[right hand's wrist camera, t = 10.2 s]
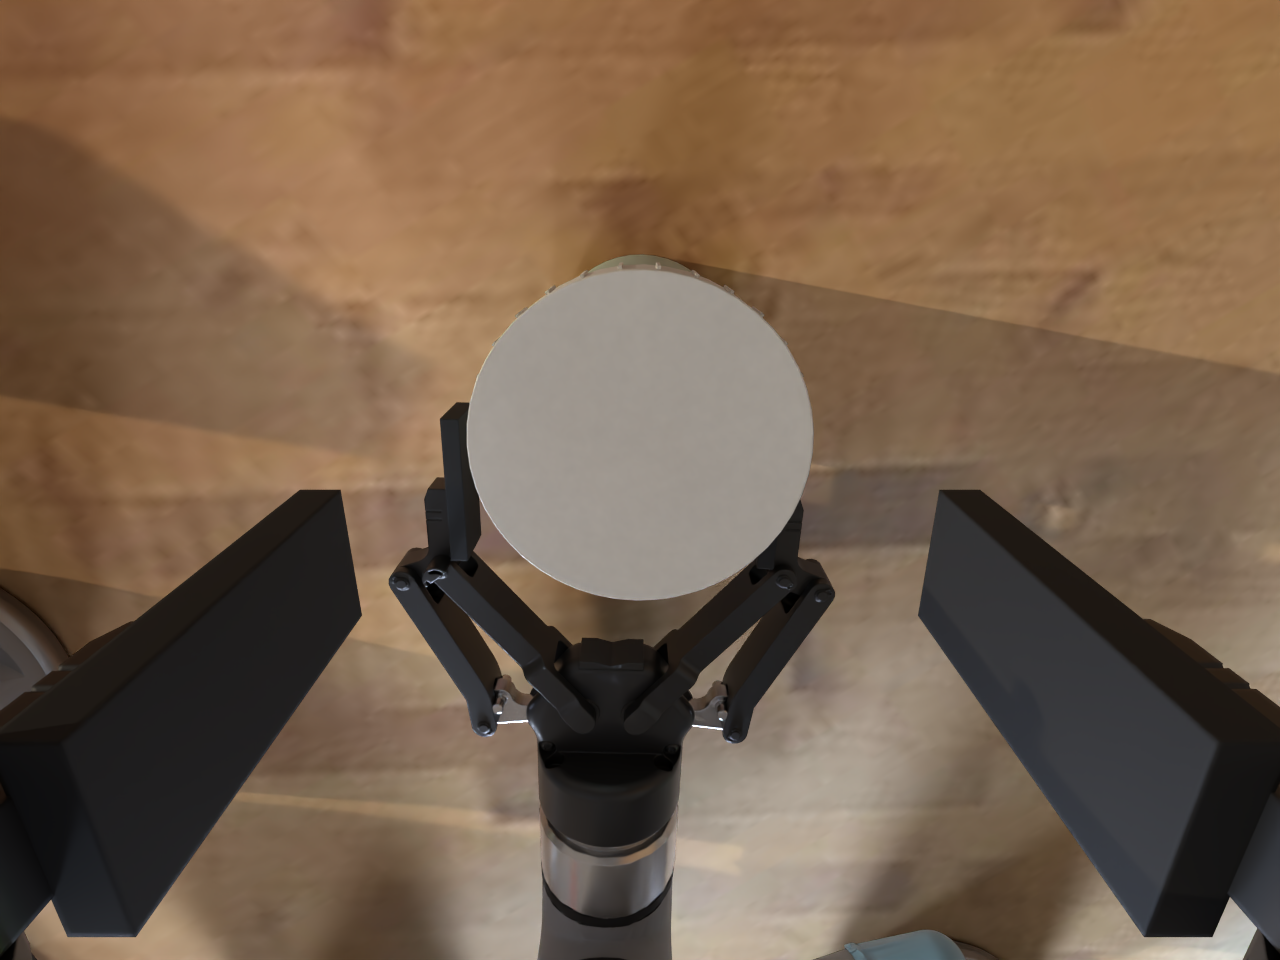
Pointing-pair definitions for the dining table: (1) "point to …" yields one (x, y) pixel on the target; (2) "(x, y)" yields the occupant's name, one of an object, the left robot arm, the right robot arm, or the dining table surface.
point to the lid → (640, 433)
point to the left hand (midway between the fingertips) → (616, 414)
